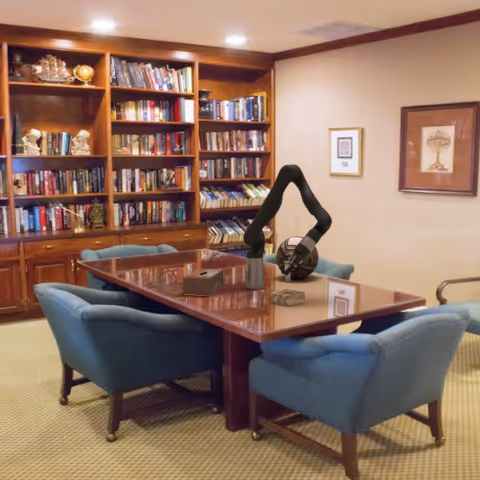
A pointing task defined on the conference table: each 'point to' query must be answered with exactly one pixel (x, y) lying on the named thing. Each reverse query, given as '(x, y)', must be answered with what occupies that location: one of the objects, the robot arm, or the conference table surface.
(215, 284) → the tissue box cover
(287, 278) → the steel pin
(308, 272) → the sphere
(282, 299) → the maple hitch block
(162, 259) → the conference table surface
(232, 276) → the conference table surface
